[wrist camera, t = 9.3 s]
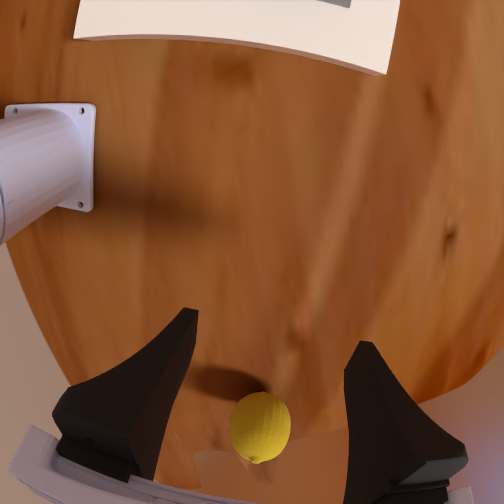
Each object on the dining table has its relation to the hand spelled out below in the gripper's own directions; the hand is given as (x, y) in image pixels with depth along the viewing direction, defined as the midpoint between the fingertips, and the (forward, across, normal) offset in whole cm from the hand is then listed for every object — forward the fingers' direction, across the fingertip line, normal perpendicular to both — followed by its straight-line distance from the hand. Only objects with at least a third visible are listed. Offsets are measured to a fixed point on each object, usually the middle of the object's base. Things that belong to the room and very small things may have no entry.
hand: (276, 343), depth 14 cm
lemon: (+10, -2, +16) cm, 19 cm away
